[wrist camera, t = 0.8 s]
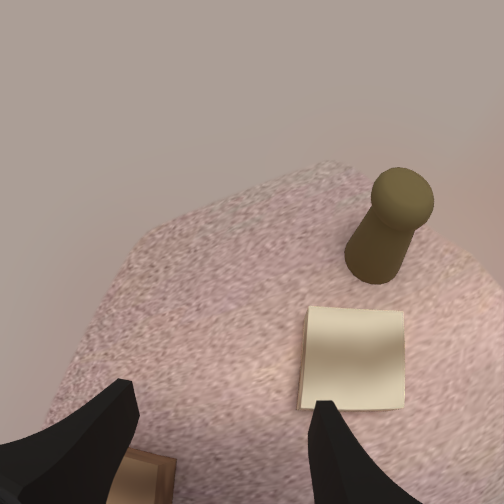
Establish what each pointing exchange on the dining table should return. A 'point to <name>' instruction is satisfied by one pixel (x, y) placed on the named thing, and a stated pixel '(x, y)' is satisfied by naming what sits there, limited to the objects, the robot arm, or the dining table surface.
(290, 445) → the dining table surface
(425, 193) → the olive round-headed peg
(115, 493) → the walnut cube
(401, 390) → the sticky note pad
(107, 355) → the dining table surface
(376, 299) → the dining table surface
